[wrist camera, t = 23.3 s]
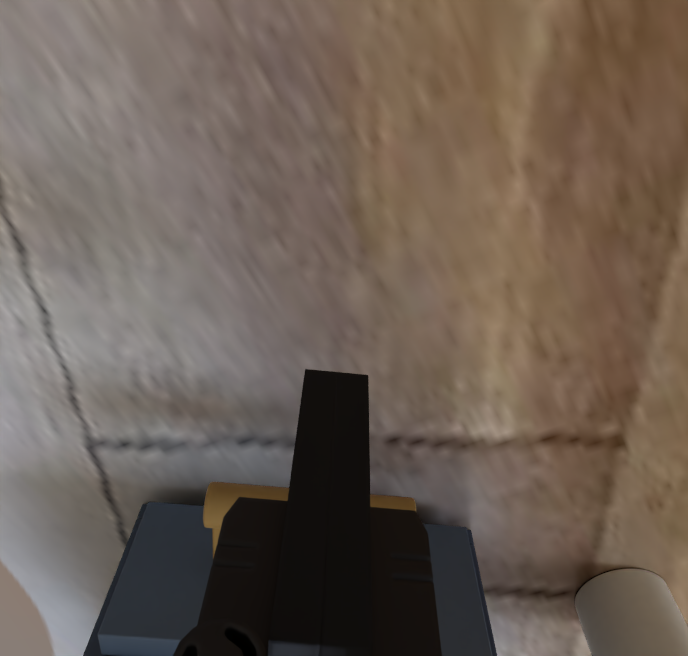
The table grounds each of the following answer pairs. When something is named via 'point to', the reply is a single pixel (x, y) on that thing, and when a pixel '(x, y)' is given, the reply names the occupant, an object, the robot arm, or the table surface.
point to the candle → (631, 615)
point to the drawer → (197, 558)
